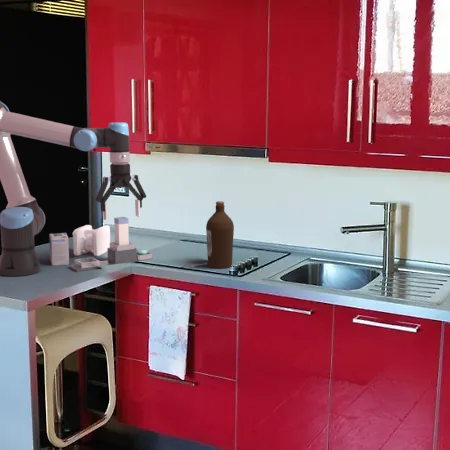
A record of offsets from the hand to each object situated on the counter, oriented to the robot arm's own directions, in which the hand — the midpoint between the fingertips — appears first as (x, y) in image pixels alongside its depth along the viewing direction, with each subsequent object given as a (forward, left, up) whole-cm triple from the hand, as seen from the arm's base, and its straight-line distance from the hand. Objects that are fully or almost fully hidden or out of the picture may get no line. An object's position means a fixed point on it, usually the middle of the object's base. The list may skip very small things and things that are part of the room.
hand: (122, 218), depth 269 cm
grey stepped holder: (-4, 0, -18) cm, 18 cm away
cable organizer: (-4, +21, -18) cm, 28 cm away
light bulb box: (-20, +15, -18) cm, 31 cm away
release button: (+8, 0, -15) cm, 17 cm away
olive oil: (+30, -24, -18) cm, 42 cm away
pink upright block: (0, 0, -12) cm, 12 cm away
